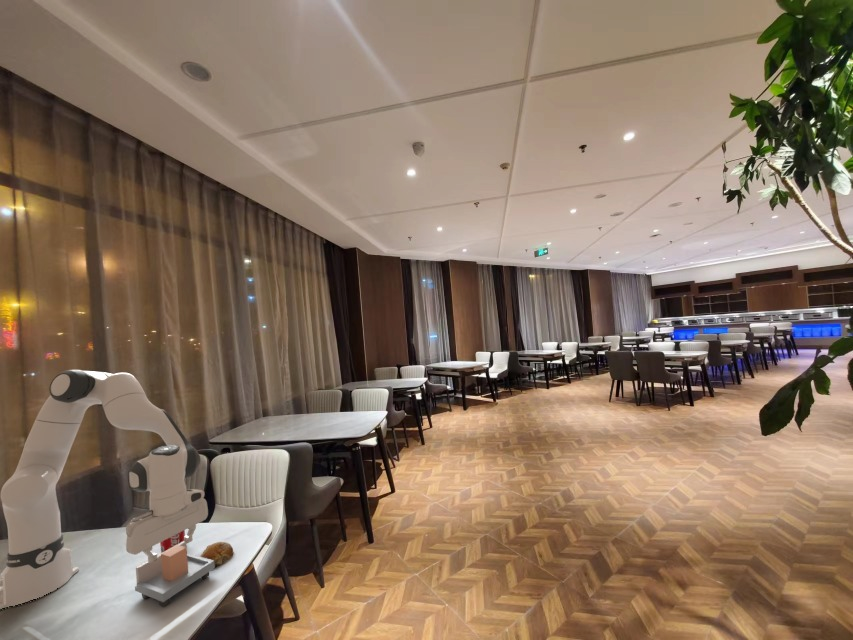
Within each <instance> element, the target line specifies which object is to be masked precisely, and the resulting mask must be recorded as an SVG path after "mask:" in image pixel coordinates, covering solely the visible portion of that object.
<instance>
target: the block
mask: <svg viewBox="0 0 853 640" xmlns="http://www.w3.org/2000/svg"><path fill="white" fill-rule="evenodd" d="M160 554H161V553H160ZM187 554H188V549H187V547H184V546H180V545H176V546H175V547H173V548H171V549H169V550H167V551H166V552H164V553H162V554H161V561H162V575H163V579H165V580H168V581H171V582H172V581H174V580H175V579H177V578H179V577H180V576H182V575H183V574H185V573H186V572H188V560H187Z"/></svg>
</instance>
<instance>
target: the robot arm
mask: <svg viewBox="0 0 853 640" xmlns="http://www.w3.org/2000/svg"><path fill="white" fill-rule="evenodd" d="M48 389H49V396H48V397H47V399H46V401H44V404H42V407H41V408H40V410H39V412H38V414H37V415H36V418H35V420H34V422H33V424H32V427H31V430H30V431H29V433H28V436H27V438H26V441H25V442H24V445H23V450H22V453H21V455H20V457H19V461H18V464H17V466H16V468H15V471H14V472H13V474H12V476H10V477H9V478H8V479H7V480H6V481H5V483H3V485H2V488H1V490H0V501H1V504H2V505H1V506H2V510H3V514H4V518H5V522H6V527H7V536H8V537H7V538H8V553H7V555H6V559H5V560H6V563H5V564H6V567H5V568H4V569H3V571H2V572H1V573H0V609H2V608H4V607H8V606H13V607H16V606H15V605H18V604H21V603H24V602H27V601H29V600H33V599H36V600H38V599H40V598H43V597H45V596H46V594H47V595H49V594H51V593H52V592H55V591H56V590H57V588H58V589H59V588H61V587H62V586H64V585H65V584H66V583H67V582H68V581H70V579H71V578H72V576H74V575H75V574H76V573H78V572H79V571H80V570H79V567H78V566H73V561H72V554H71V549H69V548H66V547H64V546H65V545H64V544H65V538H64V535H63V534H62V525H61V511H60V508H59V507H60V506H59V503H58V497H57V491H56V490H57V489H56V487H57V484H58V481H60V478H61V475H62V473H63V470H64V467H65V465H66V462H67V460H68V457H69V454H70V451H71V449H72V446H73V444H74V443H75V439H76V437H77V435H78V432H79V429H80V427H81V424H82V422H83V419H84V417H85V413H86V411H88V408H90V407H92V406H93V405H97V406H98V407H102V409H103V412H104V414H105V417H106V419H107V420H108V422H109V423H110V424H111V425H112V426H113V427H115V428H117V429H120V430H125V431H126V430H128V431H146V432H153V433H155V434H158V436H160V437H161V439H162V441H163V442H164V443H165V445H161V446H158V447H156V448H154V449H152V450H151V451H150V452H149V453H148V456H146V457H144V458H141V459H139V460H137V461H135V462H133V464H132V465H131V467H130V469H129V470H128V472H127V481H128V482H127V483H128V486H129V489H131V490H133V491H135V492H137V493H144V492H149V496H148V497H149V500H148V501H149V510H148V511H147V512H145V513H142V514H140V515H137V516H135V517H133V518H131V520H130V521H129V522H128V523H127V524H126V527H125V532H126V543H125V550H126V552H127V553H129V554H130V555H138V554H140V553H142V552H143V554H144V555H146V556H147V561H148V562H149V563H152V562H154V561H156V560H157V555H158V553H157V552H156V553H155V552H151V551H153V547H154V546H156V545H158V544H160V542H162V541H164V540H166V539H168V538H170V537H172V536H174V535H176V534H178V533H180V532H182V531H184V530H185V531H186V530H188V531H187V533H186V535H185V537H184V539H185V540H184V542H185V543H186V545H187V544H189V543H191V542H193V535H194V534H195V531H196V528H197V524H200V523H201V522H203V521H206V519H207V518H208V516H209V509H208V502H207V500H206V499H205V498H204V497H205V491H204V490H201V489H197V488H188V489H187V484H186V483H185V479H187V478H191V477H192V476H193V475H194V474H195V473H196V472H197V470H198V469H199V467H200V465H201V456H200V453H199V452H198V449H196V448H195V447H194V446H193V445H192V444H191V443H190V442H189V441H188V440H187V438H186V437H185V435H184V434H183V432H182V431H181V429H180V428H179V426H178V425H177V424H176V423H175V420H174V419H173V418H172V417H171V415H170V414H169V413H168V412H167V411H166V410H165V409H162V408H159V407H157V405H155V404H153V403H152V402H151V401H150V400H149V399H148V397H147V394H146V392H145V391H144V389H143V387H142V385H141V383H140V382H139V381H138V379H137V378H136V377H135V376H134V374H131V373H128V372H117V373H111V372H110V373H109V372H106V371H105V372H104V371H94V370H93V371H92V370H82V369H69V370H63V371H61V372H59V373H58V374H57V375H55V376H54V378H53V379H52V380H51V382H50V385H49V388H48ZM50 592H51V593H50ZM48 593H49V594H48ZM44 595H45V596H44ZM39 597H40V598H39ZM37 598H38V599H37ZM33 601H34V600H33ZM21 605H22V604H21ZM18 606H19V605H18ZM8 608H9V607H8ZM2 610H3V609H2Z"/></svg>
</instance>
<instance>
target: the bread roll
mask: <svg viewBox="0 0 853 640" xmlns="http://www.w3.org/2000/svg"><path fill="white" fill-rule="evenodd" d="M206 546H207V545H206ZM233 555H234V549H233V546H232V545H231V544H230V543H228V542H226V541H218V542H214V543H212V544H210V545H208V546H207V547H206V548H205V549H204V550H203V551H202V553H201V554H200V557H203V558H207V559H210V560H214V565H215V568H214V569H216V568H217V567H218V566H220V565H221V564H224V563H225V562H227V561H229V560H231V558H232V557H233Z"/></svg>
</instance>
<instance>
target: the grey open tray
mask: <svg viewBox="0 0 853 640" xmlns="http://www.w3.org/2000/svg"><path fill="white" fill-rule="evenodd" d="M177 545H180V546H184V547H187V544H186V543H185V542H184V541H183V542H181V543H179V544H177ZM174 547H175V546H174ZM172 548H173V547H172ZM170 549H171V548H170ZM168 550H169V549H168ZM165 552H166V551H165ZM163 553H164V552H163ZM161 554H162V553H161V552H160V553H159V554H157V560H156V561H154V562H152V563H149V562H148V560H147V561H144V562H142V563H141V564H139V565H138V566H136V567H135V576H136V577H135V578H136V585H135V586H134V591H135V592H137V593H140V594H141V598H142V599H143V600H146V599H148V598H152V599H155V600H156V601H159V604H160V606H161V607H162V608H164V607H166V606H167V605H169V603H170V598H172V597H173V596H175V595H176V594H178V593H179V592H181V591H182V590H184V589H185V588H187V587H188V586H190V585H191V584H193V583H194V582H196V581H198V580H199V579H200V578H201V579H202V580H205V579H207V578H208V577H210V572H211V571H214V569H216V568H215V565H214V560H210V559H207V558H203V557H200V556H199V555H197V554H192V553H190V552H189V553H188V552H187V560H188V572H186V573H185V574H183V575H182V576H180V577H179V578H177V579H175V580H174V581H172V582H171V581H168V580H165V579H163V575H162V561H161Z"/></svg>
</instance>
